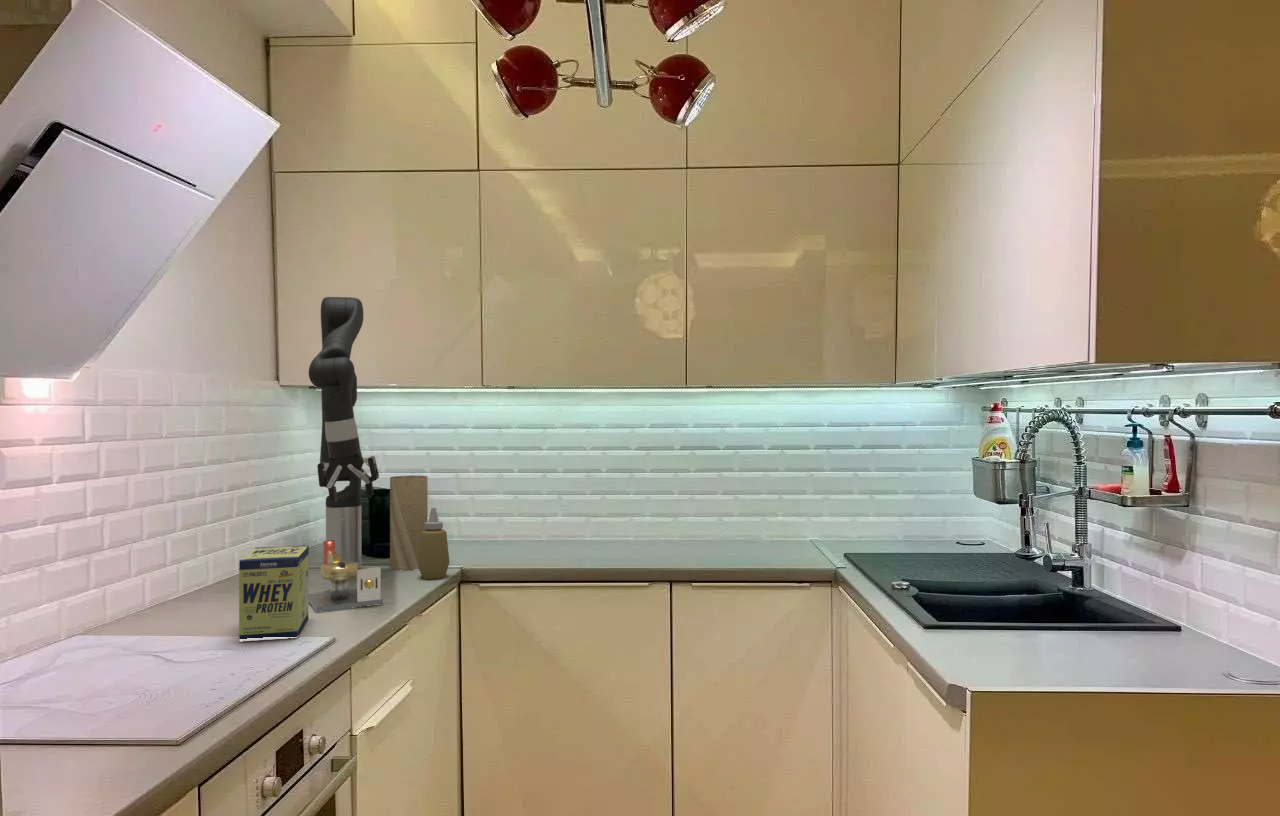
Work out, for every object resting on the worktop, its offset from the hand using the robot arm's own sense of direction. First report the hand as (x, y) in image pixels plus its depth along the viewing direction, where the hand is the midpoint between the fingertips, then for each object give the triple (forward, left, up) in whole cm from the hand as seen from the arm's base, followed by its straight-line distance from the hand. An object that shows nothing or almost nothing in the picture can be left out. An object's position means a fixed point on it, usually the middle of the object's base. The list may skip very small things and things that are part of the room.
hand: (352, 499), depth 202 cm
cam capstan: (+16, -7, -15) cm, 23 cm away
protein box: (+38, -22, -21) cm, 49 cm away
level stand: (+21, -6, -21) cm, 30 cm away
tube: (-12, +17, -21) cm, 30 cm away
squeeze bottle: (+5, +19, -21) cm, 29 cm away
